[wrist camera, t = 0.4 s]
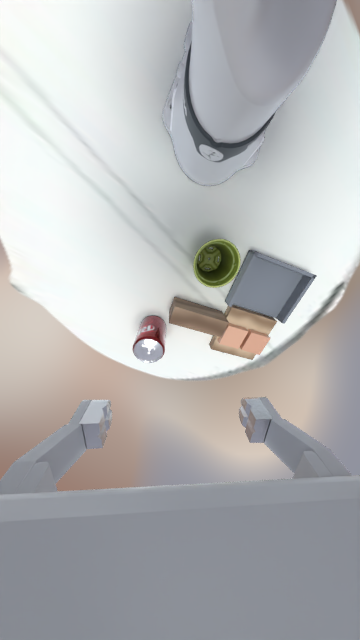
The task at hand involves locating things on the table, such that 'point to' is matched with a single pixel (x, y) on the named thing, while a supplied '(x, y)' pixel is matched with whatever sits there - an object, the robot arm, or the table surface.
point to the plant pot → (217, 263)
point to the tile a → (233, 336)
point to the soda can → (150, 339)
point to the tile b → (254, 342)
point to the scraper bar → (197, 317)
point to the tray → (268, 286)
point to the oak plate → (247, 321)
